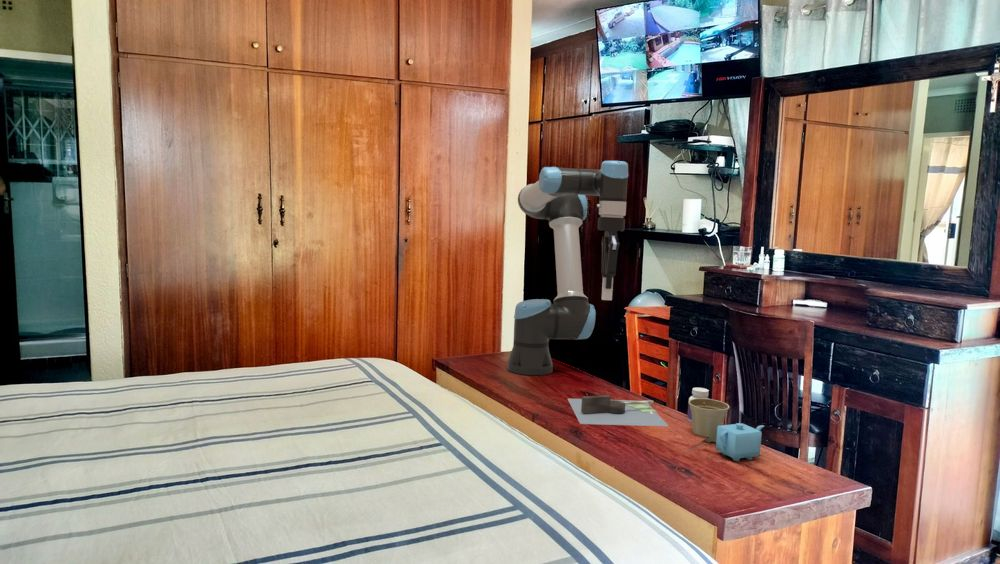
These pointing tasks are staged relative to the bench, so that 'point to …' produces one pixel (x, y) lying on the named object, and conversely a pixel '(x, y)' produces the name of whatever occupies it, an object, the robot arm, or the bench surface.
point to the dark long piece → (606, 404)
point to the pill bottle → (696, 394)
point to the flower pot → (707, 417)
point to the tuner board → (619, 415)
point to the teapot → (739, 441)
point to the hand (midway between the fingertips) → (606, 299)
